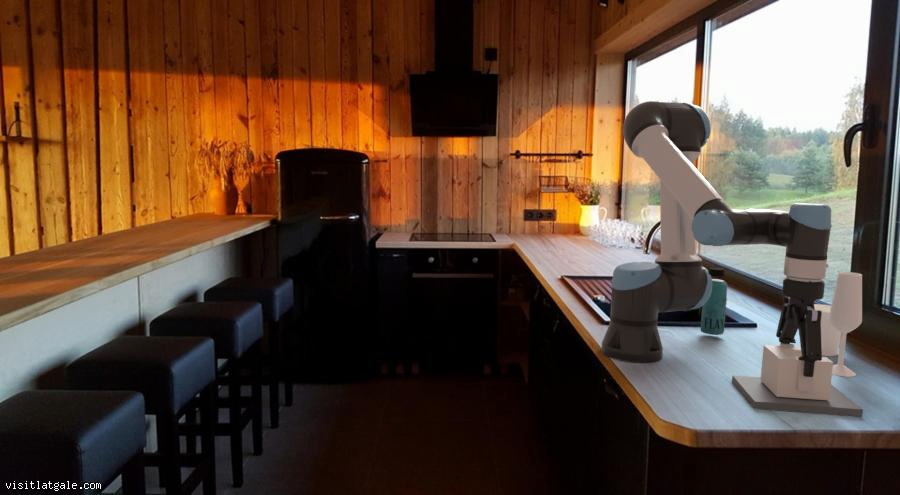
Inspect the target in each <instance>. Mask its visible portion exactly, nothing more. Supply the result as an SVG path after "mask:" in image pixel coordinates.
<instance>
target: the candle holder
mask: <svg viewBox="0 0 900 495" xmlns="http://www.w3.org/2000/svg"><path fill="white" fill-rule="evenodd" d="M814 308H815V310H819V311H821V312H822V315H821V348H822V357H826V358H829V357H830V358H831V357H836V356H837V354H838V353H839V346H840V336H841V332H840V331H838V330H837V329H836V328H835V327H834V326H833V325H832V323H831V322H830V320H829V314H830V309H831V305H829V304H821V303H820V304H819V303H814Z"/></svg>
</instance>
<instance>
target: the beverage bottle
mask: <svg viewBox="0 0 900 495" xmlns="http://www.w3.org/2000/svg"><path fill="white" fill-rule="evenodd" d="M708 272H709V273H708V274H709V275H711V277H718V278H719V277H720V278H721V277H722V278H723V277H725V269H724V268H721V267H710V268H709V270H708ZM718 278H712V292H711V295H710V297H709V299H708V301H707V302H706V303H705V304H704V305H703V306H702V307H701V308H702V309H701V318H700V332H701V333H703V334H706V335H713V336H720V335H723V334H724V332H725V325H726V310H727V309H726V308H727V304H728V303H727V302H728V298H727V297H728V284H727V282H726V281H725V280H723V279H718Z"/></svg>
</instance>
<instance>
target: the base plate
mask: <svg viewBox="0 0 900 495" xmlns="http://www.w3.org/2000/svg"><path fill="white" fill-rule="evenodd" d="M731 383H732V384H733V385H734V386H735V387H736V389H737V390H738V391H739V392H740V393H741V394H742V395H743V397H744V398H745V399H746V400H747V402H748V403H749V404H750V405H751V406H752V408H754V410H755V409H756V410H767V411H768V410H770V411H771V410H772V411H782V412H795V413H810V414H821V415H822V414H823V415H835V416H837V415H839V416H850V417H860V418H861V417H863V414H864V413H863V412H864V409H863V408H862V407H861V406H860V405H858V404H857V403H855V402H854V401H853V400H852V399H850V398H849V397H848V396H846V394H844V393H843V392H842V391H841V390H839V389H838V388H837V387H835V386H834V385H832V384H831V388H830V398H829V400H817V399H803V398H789V397H776V396H775V395H774V393H773V392H772V391H771V390H770V389H769V388H768V387H767V386H766V385H765V384H764V383H763V382H762V381H761V376H747V375H734V374H733V375H732V377H731Z"/></svg>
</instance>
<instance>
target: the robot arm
mask: <svg viewBox="0 0 900 495" xmlns="http://www.w3.org/2000/svg"><path fill="white" fill-rule="evenodd" d="M710 120H711V119H710V117H709V116H708V114H707V112H706V111H705V110H704V109H703V108H702V107H701V106H698V105H696V104H690V103H687V102H665V101H652V100H650V101H645V102H641V103H639V104H637V105H635V106H634V107H633V108H631V110H630V111H629V112H628V113H627V115H626V117H625V118H624V122H623V125H622V134H623V139H624V142H625V144H626V145H627V147H628V148H629V150H630V151H631V153H632V154H633V155H634V156H635V157H637V158H640V159H643V160H644V161H645V163H646V164H647V165H648V167H649V168H650V169H651V170H652V171H653V172H654V174H655V175H656V176H657V177H658V179H659V193H660V194H659V197H660V200H659V201H660V202H659V203H660V204H659V205H660V210H659V212H660V254H659V255H658V256H657V257H656V258H655V259H654V262H652V261H633V262H627V263H622V264H619V265H617V266H616V267H615V268H614V270H613V272H612V279H611V284H610V285H611V298H610V316H609V317H610V318H609V319H610V320H609V323H608V324H609V325H608V327H607V329H606V332H605V334H604V336H603V339H602V341H601V350H600V351H601V353H602V354H603V355H605V356H606V357H608V358H610V359H611V358H612V359H615V360H618V361H623V362H630V363H651V362H657V361H660V360H662V358H663V355H664V354H663V353H664V352H663V351H664V348H663V345H662V341H661V336H660V333H659V329H658V317H659V313H669V312H679V311H681V312H688V311H692V310H697V309H700V308H703V305H704V304H705V303H706V302H707V301H708V299H709V297H710V295H711V292H712V279H713V277H712V276H711V275H709V270H708V269H707V268H706V267H704V265H703V259H702V258H701V257H700V256H699V255H698V254H697V253H696V252H697V251H696V247H697V246H696V242H697V243H699V245H700V244H701V245H703V246H712V247H724V246H739V245H741V246H742V245H746V246H747V245H748V246H749V245H771V246H780V247H785V256H784V265H783V275H784V276H785V277H784V278H783V279H782V291H781V293H782V295H784V296H783V298H782V307H781V311H780V316H779V320H778V325H777V329H776V333H775V334H776V335H775V336H776V337H777V338H778V342H779V346H788V347H795V344H796V343H797V342H796V339H795V337H796V335H797V332H798V335H799V344H800V345H799V346H800V347H801V353H802V356H800V357H799V358H798V359H799V371H798V381H797V390H798V391H807V392H812V391H813V381H814V371H815V362H816V361H821V360H822V357H823V356H822V348H821V315H822V312H821V311H819V310H815V308H814V304H815V301H820V300H822V299H823V298H824V294H825V284H826V283H825V282H824V279H825V278H826V275H827V274H826V272H827V268H829V263H828V262H827V260H828V251H829V250H828V249H829V244H830V242H829V241H830V237H831V229H832V226H833V225H832V208H831V206H829V205H828V204H823V203H811V202H810V203H809V202H794V203H792V204H790V207H789V211H784V210H776V209H775V210H774V209H767V208H762V207H761V208H756V207H755V208H748V209H733V208H732V207H730V205H729V204H728V203H727V202H726V201H725V200H724V198H722V196H721V195H720V194H719V193H718V192H717V191H716V189H714V187H713V186H712V185H711V183H710V182H709V181H708V180H707V179H705V177H704V176H703V174H702V173H700V172H699V170H698V169H697V168H696V167H695V166H696V164H695V163H696V162H695V161H696V160H697V158H699V157H700V156H701V154H702V152H701V150H702V148H703V147H704V146H706V144H707V143H708V139H710V135H711V132H712V130H711V129H712V128H711V127H712V125H711V121H710Z"/></svg>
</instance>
